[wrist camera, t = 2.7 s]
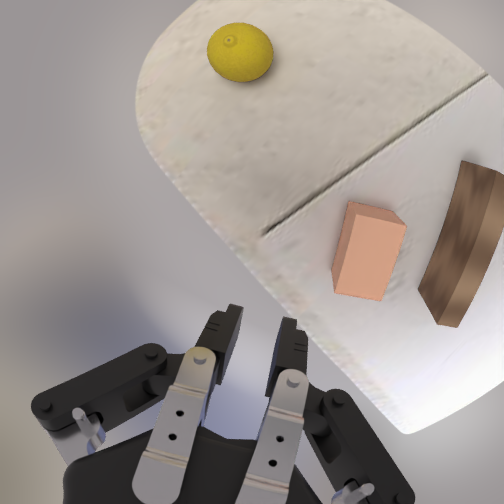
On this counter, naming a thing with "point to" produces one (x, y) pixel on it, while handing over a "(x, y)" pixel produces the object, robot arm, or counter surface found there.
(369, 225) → the terracotta block
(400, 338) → the counter surface
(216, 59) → the lemon
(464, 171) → the walnut plank
